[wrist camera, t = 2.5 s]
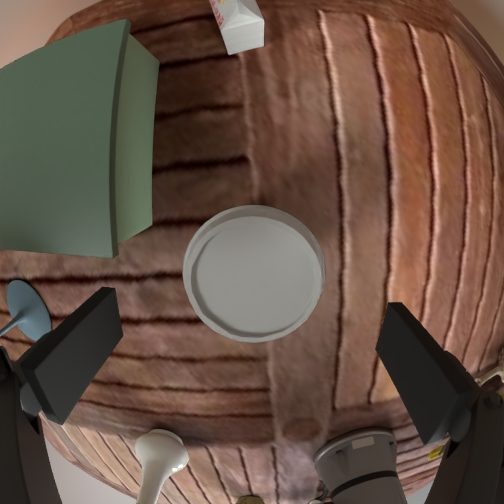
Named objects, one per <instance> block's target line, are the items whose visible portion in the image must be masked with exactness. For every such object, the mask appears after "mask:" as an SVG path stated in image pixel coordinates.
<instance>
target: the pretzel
mask: <svg viewBox="0 0 504 504" xmlns="http://www.w3.org/2000/svg"><path fill="white" fill-rule="evenodd" d="M330 501H331V500H330ZM330 501H329V502H330ZM318 503H323V502H322V501H319V500H313V501H311V502H310V503H309V504H318Z"/></svg>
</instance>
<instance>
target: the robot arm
mask: <svg viewBox="0 0 504 504" xmlns="http://www.w3.org/2000/svg"><path fill="white" fill-rule="evenodd" d="M122 337H123V331H122V326H121V321H120V315H119V310H118V304H117V297H116V291H115V288H110V287H101V288H100V289H99V290H98V291H97V292H95V293H94V294H93V295H92V296H91V297H90V298H89V299H87V300H86V301H85V302H84V303H83V304H82V305H81V306H80V307H79V308H77V309H76V310H75V311H74V312H73V313H72V314H71V315H70V316H69V317H68V318H66V319H65V320H64V321H63V322H62V323H61V324H60V325H59V326H58V327H57V328H56V329H55V330H52V331H50V332H48V333H46V334H44V335H43V336H41V337H40V338H39V339H38V340H37V341H36V343H34V344H33V345H32V346H31V348H29V349H28V350H27V351H26V352H25V353H24V354H23V355H22V356H21V357H20V358H19V359H18V360H17V361H16V362H15V363H14V364H13V365H12V363H11V360H10V358H9V356H8V353H7V351H6V349H5V348H4V347H3V346H0V504H62V501H61V498H60V495H59V493H58V489H57V486H56V483H55V480H54V477H53V473H52V469H51V465H50V462H49V457H48V453H47V449H46V444H45V439H44V434H43V428H42V423H41V419H40V416H39V415H38V413H39V412H40V411H41V409H42V410H43V412H44V414H45V415H46V417H47V419H49V420H51V421H53V422H55V423H58V424H60V425H63V424H64V422H65V420H66V419H67V417H68V416H69V414H70V413H71V411H72V410H73V408H74V406H75V405H76V403H77V402H78V400H79V399H80V397H81V396H82V394H83V393H84V391H85V390H86V388H87V387H88V385H89V384H90V382H91V381H92V380H93V378H94V377H95V375H96V374H97V372H98V371H99V369H100V368H101V366H102V365H103V364H104V362H105V361H106V359H107V358H108V356H109V355H110V354H111V352H112V351H113V349H114V348H115V347H116V345H117V344H118V343H119V341H120V340H121V338H122ZM375 350H376V351H377V353H378V355H379V357H380V359H381V361H382V362H383V364H384V366H385V368H386V370H387V372H388V374H389V375H390V377H391V379H392V381H393V383H394V385H395V387H396V389H397V391H398V393H399V395H400V397H401V399H402V400H403V402H404V404H405V406H406V408H407V410H408V412H409V414H410V417H411V419H412V421H413V423H414V425H415V427H416V429H417V431H418V433H419V435H420V437H421V439H422V442H423V444H424V446H428V445H431V444H434V443H437V442H440V441H441V440H442V439H443V437H444V436H445V434H446V433H447V432H448V433H449V435H450V436H451V438H450V439H449V440H448V442H447V443H446V444H445V446H444V447H443V448H442V449H441V451H440V452H439V454H438V455H439V456H440V455H441V454H442V453H443V451H444V454H443V457H442V460H441V463H440V466H439V469H438V472H437V474H436V477H435V479H434V482H433V485H432V487H431V489H430V492H429V494H428V497H427V499H426V501H425V503H424V504H504V399H503V398H502V396H500V395H499V394H498V393H496V392H494V391H490V390H487V391H483V390H482V389H481V388H480V386H479V385H478V384H477V383H476V381H475V380H474V379H473V377H472V376H471V375H470V374H469V372H468V371H467V372H466V369H465V368H464V366H463V365H461V363H460V361H459V360H458V359H457V358H456V357H455V356H454V355H452V354H451V353H449V352H448V351H444V350H443V349H442V348H441V347H440V346H439V344H438V343H437V342H436V341H435V340H434V338H433V337H432V336H431V335H430V334H429V333H428V331H427V330H426V329H425V328H424V327H423V326H422V325H421V323H420V322H419V321H418V320H417V319H416V318H415V317H414V316H413V314H412V313H411V312H410V311H409V310H408V309H407V308H406V307H405V306H404V304H403V303H402V302H388V306H387V310H386V314H385V317H384V321H383V325H382V328H381V332H380V335H379V339H378V342H377V345H376V348H375ZM396 458H397V442H396V439H395V436H394V434H393V432H392V431H390V430H389V429H386V428H381V427H371V428H364V429H359V430H356V431H352V432H349V433H346V434H344V435H341V436H339V437H337V438H335V439H333V440H331V441H330V442H328V443H327V444H325V445H324V446H323V447H322V448H321V449H320V450H319V451H318V452H317V453H316V455H315V458H314V461H315V468H316V470H317V472H318V474H319V476H320V477H321V479H322V480H323V482H324V484H325V485H324V488H323V490H324V493H323V495H322V496H321V497H320V498H318V499H317V500H319V501H321V500H323V499H324V498H325V497H326V496H327V493H328V490H329V492H330V496H331V501H330V502H325V503H318V504H407V501H406V498H405V495H404V492H403V489H402V486H401V483H400V480H399V478H398V475H397V472H396Z"/></svg>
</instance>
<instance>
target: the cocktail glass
mask: <svg viewBox="0 0 504 504" xmlns="http://www.w3.org/2000/svg"><path fill="white" fill-rule="evenodd" d="M6 296H7V304H8V308H9V311H10V313H11V316H12V318H13V319H12V320H11V321H10V322H9V323H8V324H7V325H6V326H5V327H4V328H2V329H1V330H0V336H1V335H3V334H4V333H5V332H6V331H8V330H9V329H10V328H12V327H13V326H15V325H16V324H17V326H18V327H19V328H20V330H21V331H22V332H23V333H24V334H25V335H26V336H28V337H29V338H31V339H32V340H35V341H37V340H38V339H39V338H40V337H41V336H43V335H44V334H46V333H48V332H50V331H51V321H50V316H49V313H48V311H47V308H46V306H45V304H44V302H43V301H42V299H41V297H40V296H39V295H38V293H37V292H36V291H35V290H34V289H33V288H32V287H31V286H30V285H29V284H27V283H26V282H24V281H22V280H14V281H12V282H11V283H10V284H9V286H8V288H7V294H6Z"/></svg>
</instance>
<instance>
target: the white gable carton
mask: <svg viewBox="0 0 504 504" xmlns="http://www.w3.org/2000/svg"><path fill="white" fill-rule="evenodd" d="M209 1H210V4H211V7H212V10H213V13H214V15H215V18H216V21H217V23H218V26H219V29H220V32H221V35H222V37H223V40H224V43H225V46H226V49H227V52H228V54H229V55H231V54H235V53H238V52H242V51H246V50H250V49H254V48H258V47H262V46H264V19H263V17H262V14H261V12H260V10H259V7H258V5H257V3H256V1H255V0H209Z"/></svg>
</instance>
